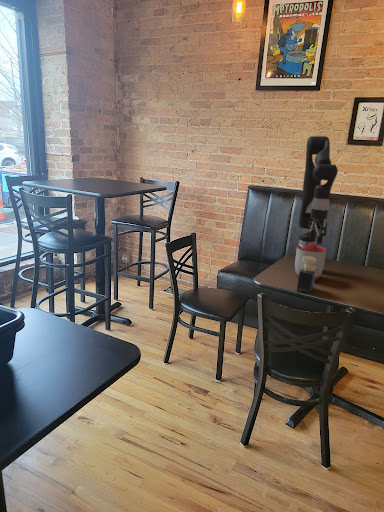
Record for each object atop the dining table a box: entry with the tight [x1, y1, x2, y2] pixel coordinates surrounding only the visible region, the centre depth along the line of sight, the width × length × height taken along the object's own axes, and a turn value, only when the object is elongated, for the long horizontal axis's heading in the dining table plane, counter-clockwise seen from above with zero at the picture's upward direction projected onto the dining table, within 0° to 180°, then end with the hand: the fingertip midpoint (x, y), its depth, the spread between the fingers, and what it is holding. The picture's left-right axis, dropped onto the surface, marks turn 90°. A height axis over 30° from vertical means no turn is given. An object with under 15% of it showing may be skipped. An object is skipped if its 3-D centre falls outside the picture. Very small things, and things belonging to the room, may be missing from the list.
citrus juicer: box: [294, 242, 327, 281], centre depth 195 cm, size 16×17×20 cm
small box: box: [296, 269, 317, 295], centre depth 176 cm, size 11×6×10 cm, turn 150°
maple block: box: [301, 257, 317, 271], centre depth 174 cm, size 5×5×6 cm
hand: (315, 241), depth 172 cm, fingers open, 8 cm apart
